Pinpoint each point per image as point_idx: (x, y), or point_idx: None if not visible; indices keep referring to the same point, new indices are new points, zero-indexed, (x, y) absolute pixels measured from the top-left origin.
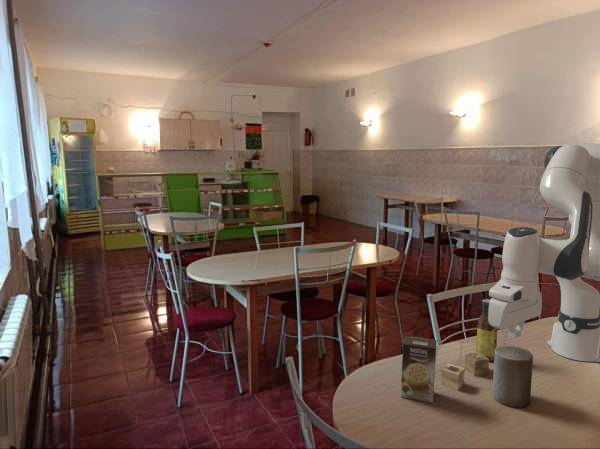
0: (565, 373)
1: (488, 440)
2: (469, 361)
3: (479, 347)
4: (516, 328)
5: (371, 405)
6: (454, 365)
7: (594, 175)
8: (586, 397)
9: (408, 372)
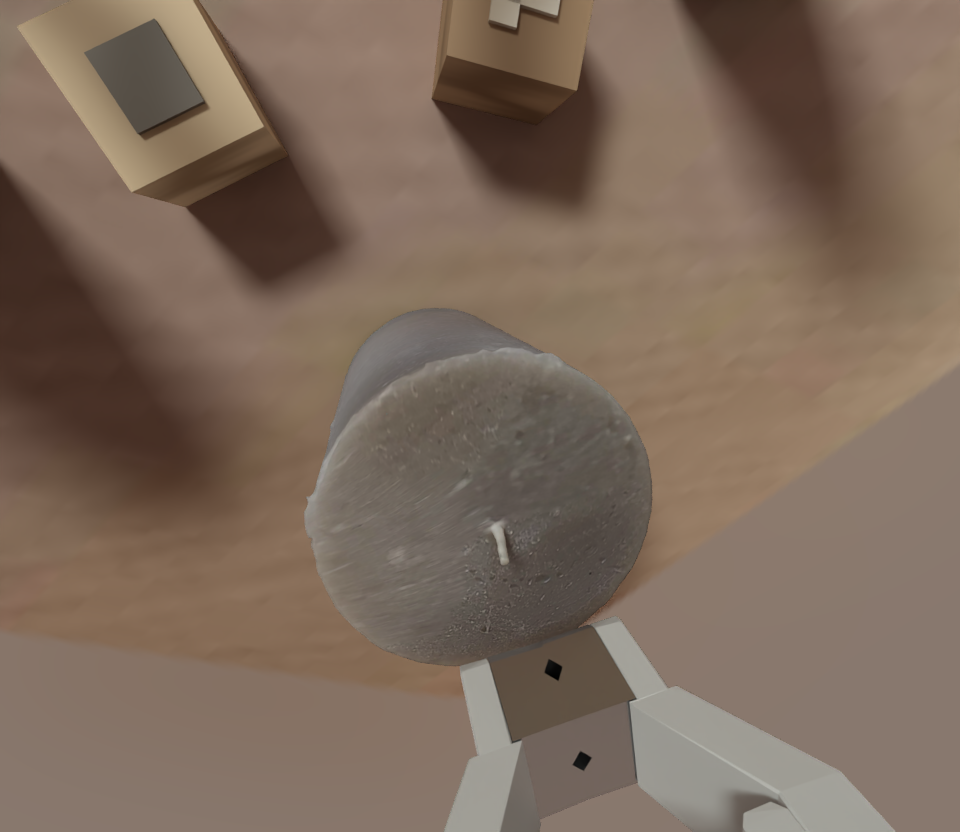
0: (874, 312)
1: (68, 623)
2: None
3: None
4: (652, 756)
5: None
6: (204, 26)
7: None
8: (736, 494)
9: None
